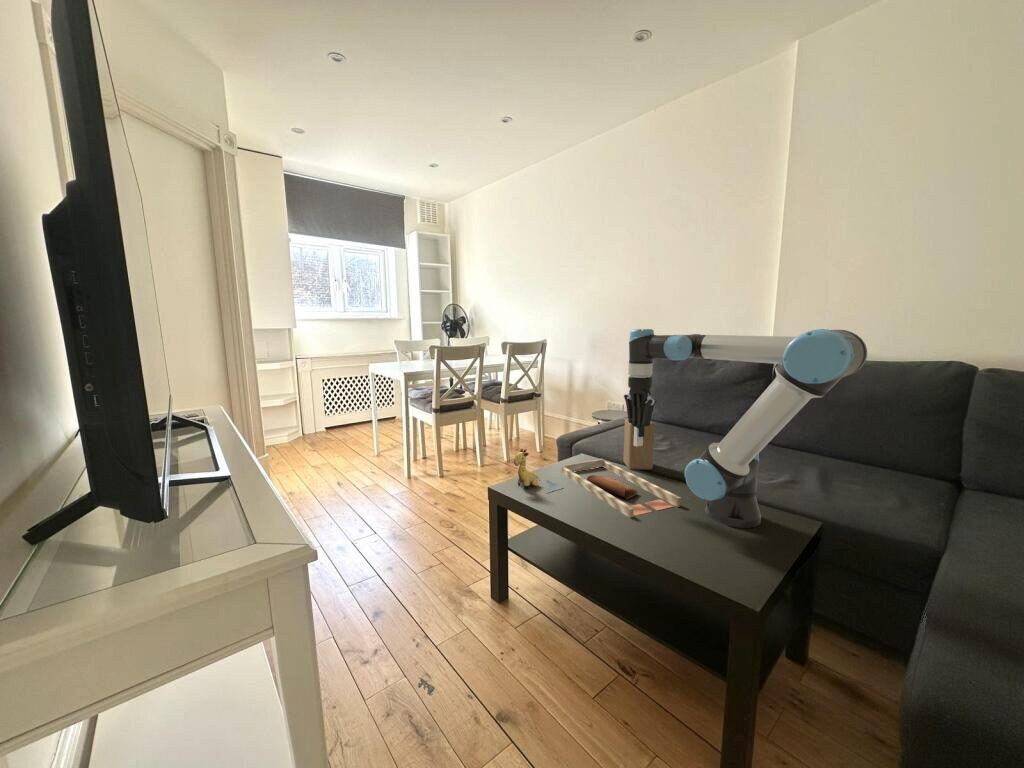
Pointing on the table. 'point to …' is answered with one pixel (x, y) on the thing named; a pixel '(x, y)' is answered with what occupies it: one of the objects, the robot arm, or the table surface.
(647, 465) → the block
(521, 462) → the stuffed giraffe
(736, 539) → the table surface
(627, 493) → the sunglasses case
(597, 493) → the wooden tray
